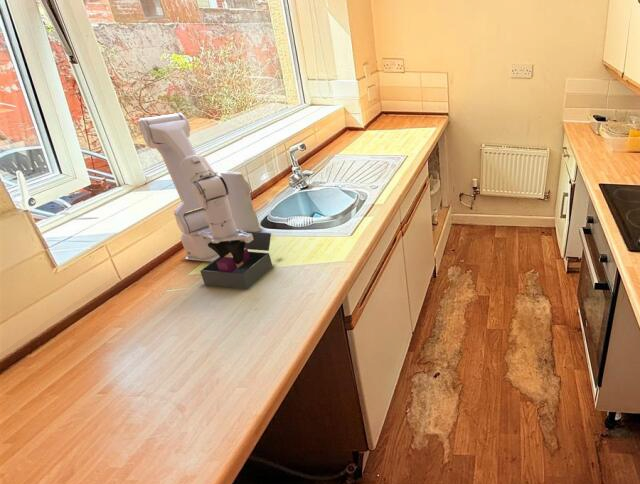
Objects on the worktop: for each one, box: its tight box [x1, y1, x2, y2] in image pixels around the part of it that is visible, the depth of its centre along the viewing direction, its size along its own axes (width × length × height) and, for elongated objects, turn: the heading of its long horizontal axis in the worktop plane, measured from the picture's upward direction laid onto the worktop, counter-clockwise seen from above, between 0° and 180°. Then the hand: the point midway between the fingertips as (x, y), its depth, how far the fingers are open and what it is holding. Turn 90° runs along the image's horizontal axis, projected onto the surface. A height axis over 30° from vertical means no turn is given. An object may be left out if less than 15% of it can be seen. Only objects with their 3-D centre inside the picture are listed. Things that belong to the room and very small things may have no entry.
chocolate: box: [216, 248, 250, 273], centre depth 113 cm, size 3×8×4 cm, turn 173°
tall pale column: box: [220, 170, 262, 232], centre depth 136 cm, size 11×4×22 cm, turn 82°
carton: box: [199, 250, 274, 290], centre depth 115 cm, size 13×11×5 cm
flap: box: [229, 231, 272, 252], centre depth 119 cm, size 13×5×1 cm
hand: (234, 261), depth 114 cm, fingers closed on chocolate, 3 cm apart
